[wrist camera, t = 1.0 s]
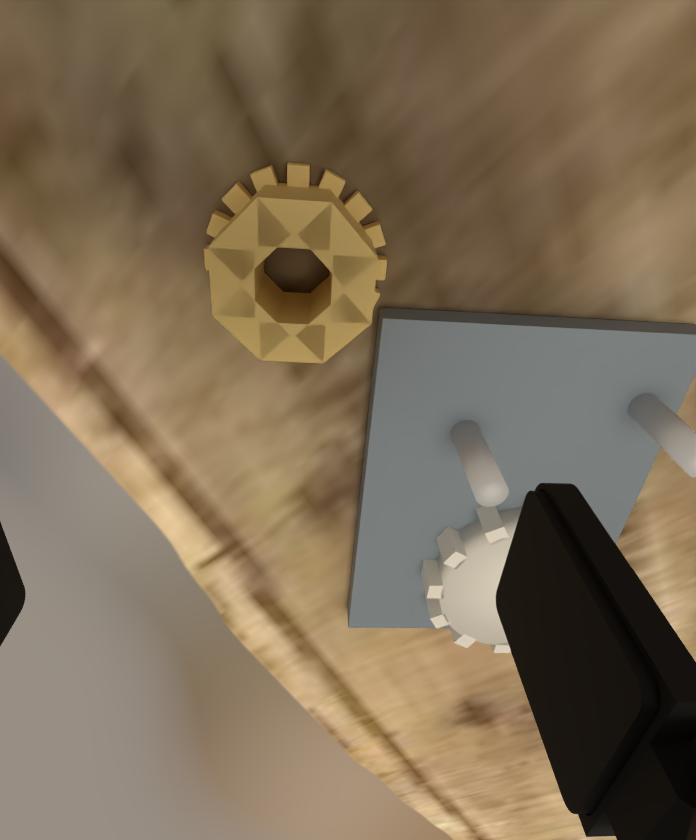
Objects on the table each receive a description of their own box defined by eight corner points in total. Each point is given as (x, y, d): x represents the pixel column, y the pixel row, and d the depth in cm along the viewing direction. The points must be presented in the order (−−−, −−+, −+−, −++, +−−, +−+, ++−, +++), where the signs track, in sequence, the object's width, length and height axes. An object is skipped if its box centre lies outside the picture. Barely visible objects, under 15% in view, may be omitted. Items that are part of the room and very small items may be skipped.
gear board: (379, 307, 25) (396, 366, 20) (693, 324, 26) (793, 384, 21) (347, 609, 37) (352, 700, 31) (567, 611, 38) (609, 699, 32)
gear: (201, 155, 21) (178, 166, 18) (394, 170, 22) (408, 183, 19) (213, 337, 26) (197, 374, 22) (375, 345, 26) (383, 382, 23)
